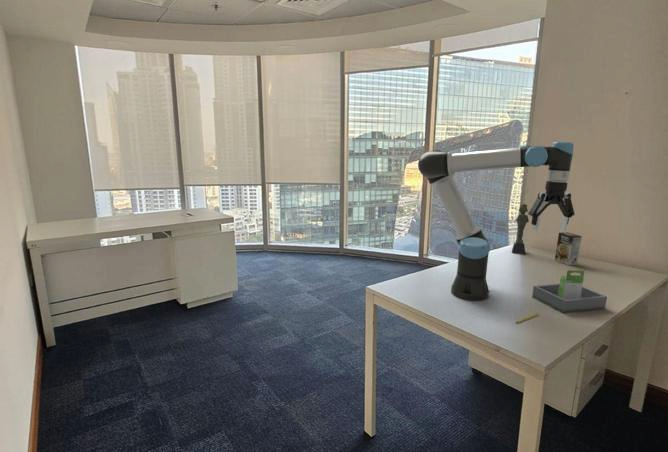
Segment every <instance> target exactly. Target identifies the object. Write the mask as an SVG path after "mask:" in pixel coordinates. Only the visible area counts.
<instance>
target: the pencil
mask: <svg viewBox="0 0 668 452" xmlns="http://www.w3.org/2000/svg"><path fill="white" fill-rule="evenodd" d="M538 316H540V313H534V314H531V315H529V316H526V317H524V318H521V319H518V320H516V321H515V324H520V323H523V322H525V321H527V320H531V319H534V318H536V317H538Z"/></svg>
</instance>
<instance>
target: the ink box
mask: <svg viewBox="0 0 668 452" xmlns="http://www.w3.org/2000/svg"><path fill="white" fill-rule="evenodd" d="M575 273H576V274H575ZM584 277H585V270H576V269H575V270H571V269H567V271H566V275H560V279H559V284H560V285H559V291H558V297H560V298H563V299H565V300H569V299H578V298H580V297H581V291H582V286H583V285H584V284H583V283H584Z"/></svg>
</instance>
